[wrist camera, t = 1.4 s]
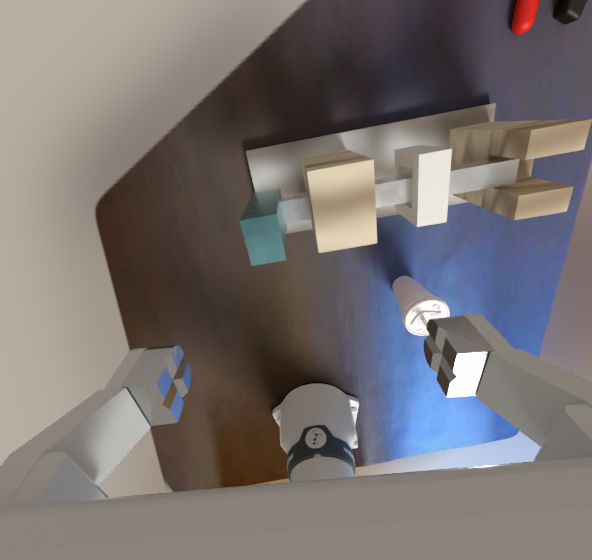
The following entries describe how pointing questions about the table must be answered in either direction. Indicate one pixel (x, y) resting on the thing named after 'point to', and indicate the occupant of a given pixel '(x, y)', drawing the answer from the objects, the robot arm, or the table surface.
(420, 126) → the stand
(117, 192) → the table surface
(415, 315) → the smoothie
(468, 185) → the shaft
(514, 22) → the toy gun
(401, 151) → the collar
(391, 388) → the table surface
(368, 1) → the table surface
